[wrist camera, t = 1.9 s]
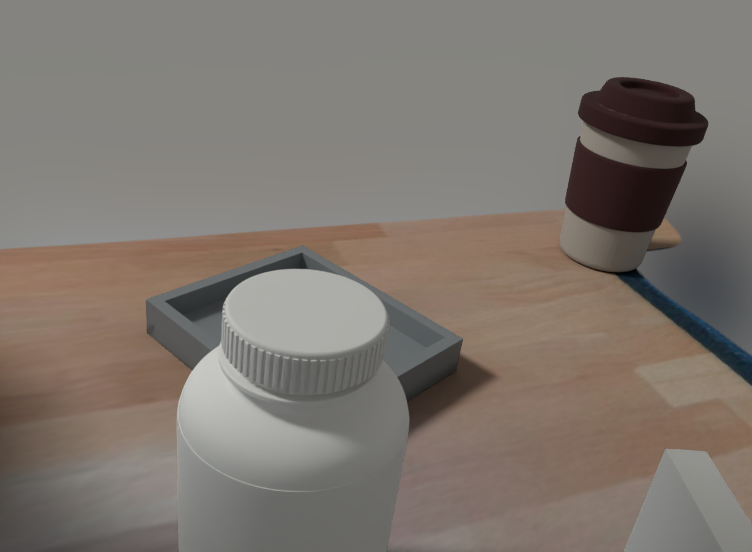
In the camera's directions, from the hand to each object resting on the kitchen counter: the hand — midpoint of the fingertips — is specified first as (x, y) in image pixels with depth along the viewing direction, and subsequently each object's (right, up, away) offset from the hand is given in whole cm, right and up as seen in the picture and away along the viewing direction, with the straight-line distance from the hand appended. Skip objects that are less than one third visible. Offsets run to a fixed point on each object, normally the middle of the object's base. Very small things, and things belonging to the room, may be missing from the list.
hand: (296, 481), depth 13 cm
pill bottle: (-3, -11, +17) cm, 20 cm away
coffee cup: (+21, +5, +51) cm, 56 cm away
